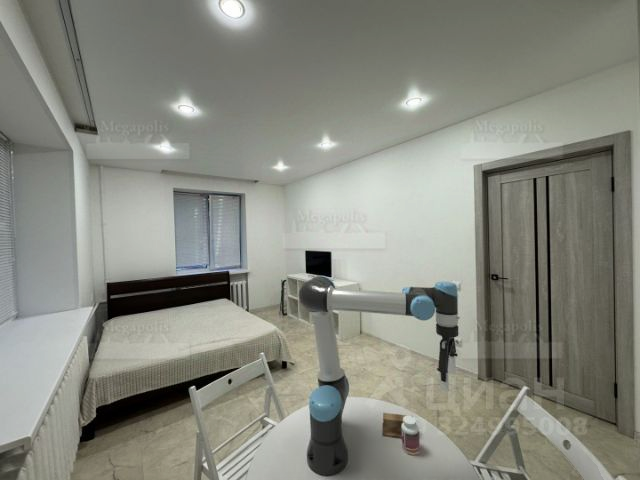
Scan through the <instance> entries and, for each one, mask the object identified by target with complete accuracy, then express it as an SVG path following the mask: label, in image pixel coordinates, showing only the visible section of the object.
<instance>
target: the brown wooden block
mask: <svg viewBox="0 0 640 480" xmlns="http://www.w3.org/2000/svg"><path fill="white" fill-rule="evenodd" d="M405 416H409V415H407V414H398V413H390V412H389V413H387V412H382V420H383V422H382V425H381V426H382V427H381V429H382V431H381V432H382V435H381V436H382V437H385V438H386V437H387V438H394V439H400V440H402V429H401V426H402V423H403V418H404V417H405ZM411 416H412V417H414V416H413V415H411Z"/></svg>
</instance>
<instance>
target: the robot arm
mask: <svg viewBox="0 0 640 480" xmlns="http://www.w3.org/2000/svg"><path fill="white" fill-rule="evenodd" d="M458 298H459V295H458V286H457V284H456V283H454V282H452V281H451V282H450V281H437V282H435V283H434V286H433V287H421V286H420V287H419V286H405V287H402V290H401V292H396V291H395V292H393V291H377V290H364V289H362V290H361V289H359V290H358V289H347V288H346V289H345V288H342V289H341V288H336V287H335V283H334V282H333V281H332V279H331V278H329V277H328V276H325V275H318V276H317V275H316V276H314V277H312V278H311V279H309V280H307V281H305V282H304V283H303V284H302V285H301V286H300V288H299V291H298V299H299V300H298V301H299V303H300V304H301V306H302V307H303V308H305V309H306V310H308V313H310V314H311V315H312V321H313V328H314V335H315V342H316V350H317V351H316V352H317V357H318V363H319V371H318V373H317V374H316V376H317V385H318V388H314V390H313V391H312V392H311V394H310V396H309V402H308V403H309V404H308V408H309V409H308V410H309V421H310V422H309V424H310V426H309V427H310V438H309V442H308V446H307V450H306V462H307V465H308V467H309V468H310V469H311V470H312V471H313V472H314V473H316V474H319V475H321V476H333V475H337V474H338V473H340V472H342V471H343V470H344V468H346V466H347V464H348V462H349V451H348V446H347V444H346V442H345V439H344V436H343V412H344V409H345V407H346V406H345V404H346V402H347V398H348V396H349V392H350V383H349V379H348V378H347V376H346V372H345V369H344V368H342V367H341V363H340V356H339V350H338V341H337V334H336V328H335V318H334V314H333V313H334V311H344V312H356V313H371V314H380V315H393V316H394V315H395V316H406V317H407V316H408V317H414V318H415V319H417V320H419V321H428V320H430V319H432V318H433V317H434V315H435V333H436V334H437V335H438V336H440V337H441V339H440V341H439V354H438V364H437V365H438V367H437V368H436V371H438V372H439V389H440V390H444V391H447V392H449V388H450V387H449V386H450V385H449V384H450V383H449V381H450V379H449V377H450V376H449V374H454V375H456V373H457V372H456V368H457V367H456V366H457V365H456V358H457V357H458V353H457V348H456V340H455V339H456V338H457V337H458V336H459V325H458V324H459V320H460V319H461V317H460V316H458V315H459V312H458V311H459V309H458V307H459V301H458V300H459V299H458Z"/></svg>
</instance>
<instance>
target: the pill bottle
mask: <svg viewBox="0 0 640 480" xmlns="http://www.w3.org/2000/svg"><path fill="white" fill-rule="evenodd" d="M412 416H413V415H408V416H405V417H404V418H403V423H402V426H401V429H402V439H401V446H402V450H403V451H404V452H405V453H406V454H408V455H412V456H413V455H414V456H415V455H418V454H419V452H420V435H419V434H420V433H419V432H420V431H419V426H418V425H417V419H416V418H415V417H414V416H413V417H412Z"/></svg>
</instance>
